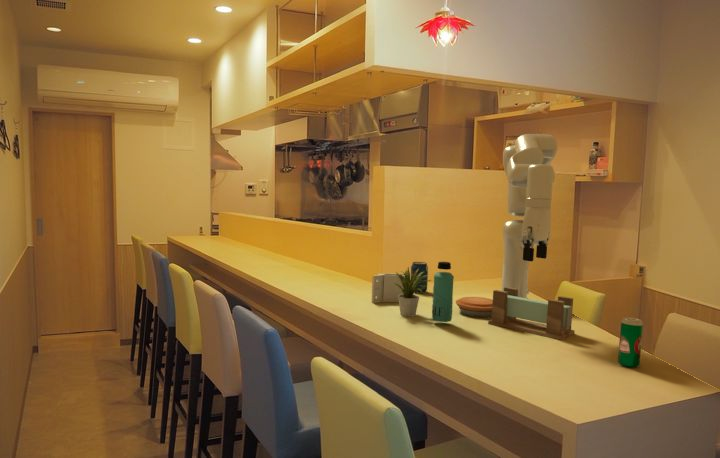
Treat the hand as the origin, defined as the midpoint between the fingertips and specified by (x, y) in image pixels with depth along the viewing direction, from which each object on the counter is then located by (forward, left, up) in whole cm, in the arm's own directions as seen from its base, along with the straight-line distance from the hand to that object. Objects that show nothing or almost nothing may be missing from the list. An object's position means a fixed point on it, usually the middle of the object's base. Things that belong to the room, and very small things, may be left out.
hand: (534, 259), depth 172 cm
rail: (0, 0, -19) cm, 19 cm away
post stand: (0, 0, -22) cm, 22 cm away
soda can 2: (+15, +33, -22) cm, 43 cm away
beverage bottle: (+17, -22, -22) cm, 36 cm away
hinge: (+4, -54, -22) cm, 59 cm away
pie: (-6, -22, -22) cm, 32 cm away
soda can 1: (-20, -57, -22) cm, 64 cm away
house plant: (+16, -36, -22) cm, 45 cm away
